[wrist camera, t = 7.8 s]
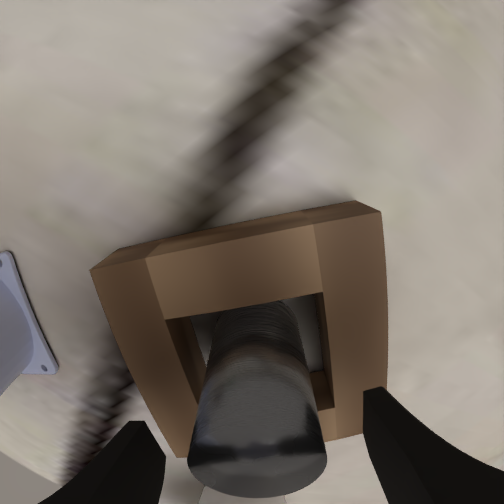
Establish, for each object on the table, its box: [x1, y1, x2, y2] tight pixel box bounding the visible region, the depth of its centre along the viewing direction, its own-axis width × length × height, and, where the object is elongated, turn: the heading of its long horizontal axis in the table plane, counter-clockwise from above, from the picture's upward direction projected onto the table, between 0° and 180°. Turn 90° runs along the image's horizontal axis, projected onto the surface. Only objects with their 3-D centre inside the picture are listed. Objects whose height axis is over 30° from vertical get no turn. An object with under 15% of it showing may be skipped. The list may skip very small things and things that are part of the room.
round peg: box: [187, 300, 327, 498], centre depth 11 cm, size 4×4×8 cm
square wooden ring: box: [90, 201, 388, 458], centre depth 14 cm, size 11×11×3 cm
